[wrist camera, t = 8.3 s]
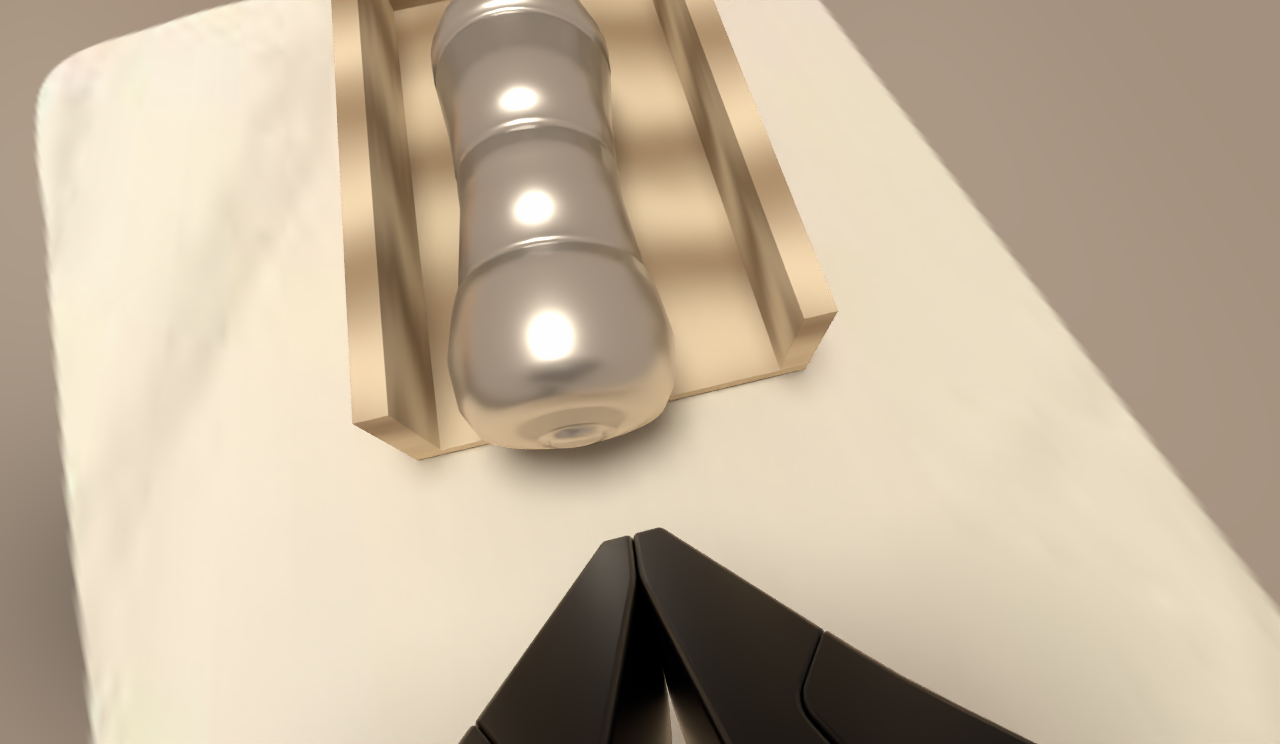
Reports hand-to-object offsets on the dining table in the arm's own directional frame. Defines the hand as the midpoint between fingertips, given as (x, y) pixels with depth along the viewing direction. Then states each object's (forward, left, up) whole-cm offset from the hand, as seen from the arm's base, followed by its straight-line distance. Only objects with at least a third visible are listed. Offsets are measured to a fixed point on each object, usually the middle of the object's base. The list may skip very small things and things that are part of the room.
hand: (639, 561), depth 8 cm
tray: (+7, +16, -11) cm, 21 cm away
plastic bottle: (0, +4, -8) cm, 9 cm away
